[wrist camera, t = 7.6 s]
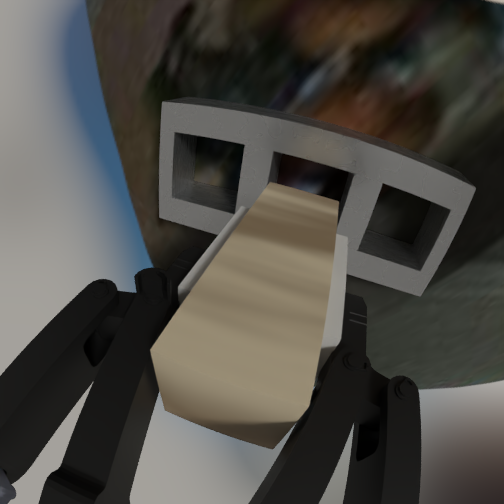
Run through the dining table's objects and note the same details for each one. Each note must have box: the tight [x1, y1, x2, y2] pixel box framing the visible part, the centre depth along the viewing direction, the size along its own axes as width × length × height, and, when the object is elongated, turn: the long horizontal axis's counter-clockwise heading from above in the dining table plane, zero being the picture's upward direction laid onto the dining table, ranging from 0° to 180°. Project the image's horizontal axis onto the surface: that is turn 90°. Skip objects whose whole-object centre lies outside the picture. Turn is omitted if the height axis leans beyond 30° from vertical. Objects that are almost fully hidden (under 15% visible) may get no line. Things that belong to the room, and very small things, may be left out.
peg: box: [150, 182, 339, 449], centre depth 12 cm, size 4×4×12 cm
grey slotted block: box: [159, 97, 476, 296], centre depth 21 cm, size 10×23×4 cm, turn 81°
